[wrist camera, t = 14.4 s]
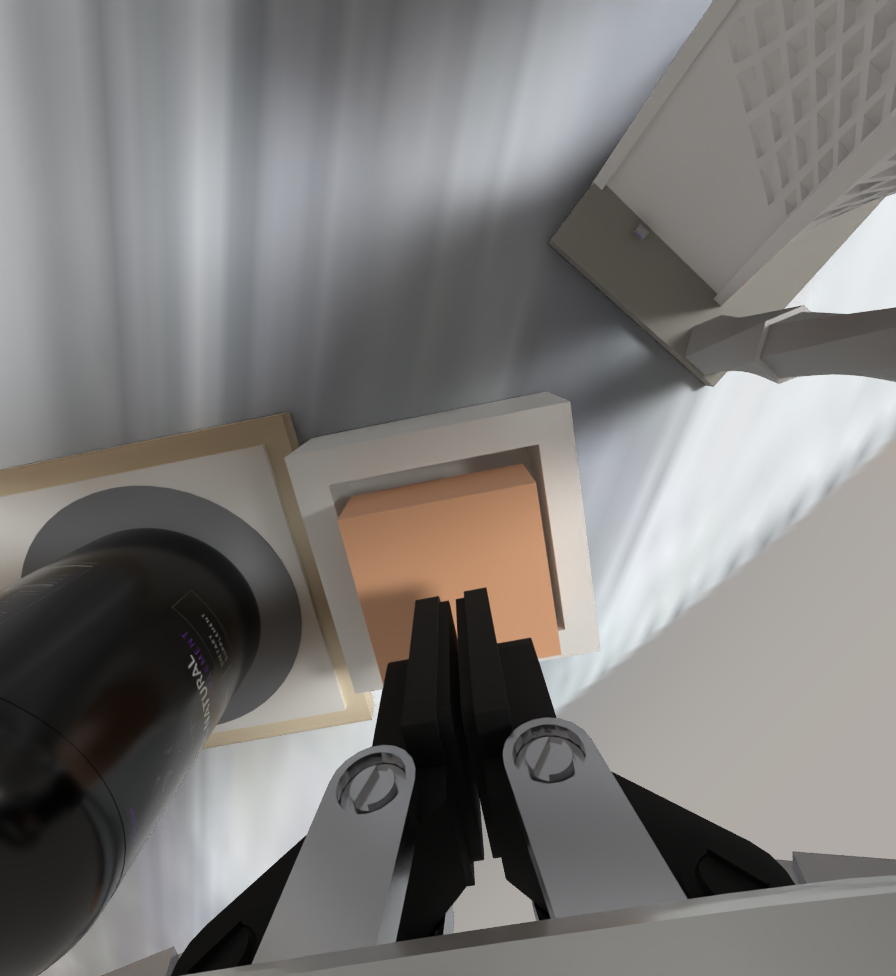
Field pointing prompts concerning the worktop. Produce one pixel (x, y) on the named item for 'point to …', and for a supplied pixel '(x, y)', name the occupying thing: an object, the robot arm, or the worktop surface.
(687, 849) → the robot arm
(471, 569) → the button
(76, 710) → the supplement bottle
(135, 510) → the cream square coaster
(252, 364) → the worktop surface
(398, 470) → the button housing
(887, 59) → the skyscraper
